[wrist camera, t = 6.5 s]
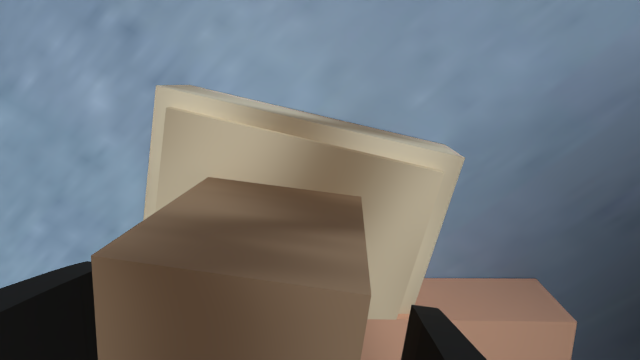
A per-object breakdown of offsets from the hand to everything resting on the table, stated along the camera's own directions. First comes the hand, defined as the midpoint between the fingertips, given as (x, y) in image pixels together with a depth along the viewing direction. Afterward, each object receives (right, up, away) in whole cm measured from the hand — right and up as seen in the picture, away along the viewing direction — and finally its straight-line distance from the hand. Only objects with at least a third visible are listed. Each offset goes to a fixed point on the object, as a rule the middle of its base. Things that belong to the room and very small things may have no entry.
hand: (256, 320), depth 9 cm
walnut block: (0, +1, +3) cm, 3 cm away
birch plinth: (0, +1, +5) cm, 5 cm away
